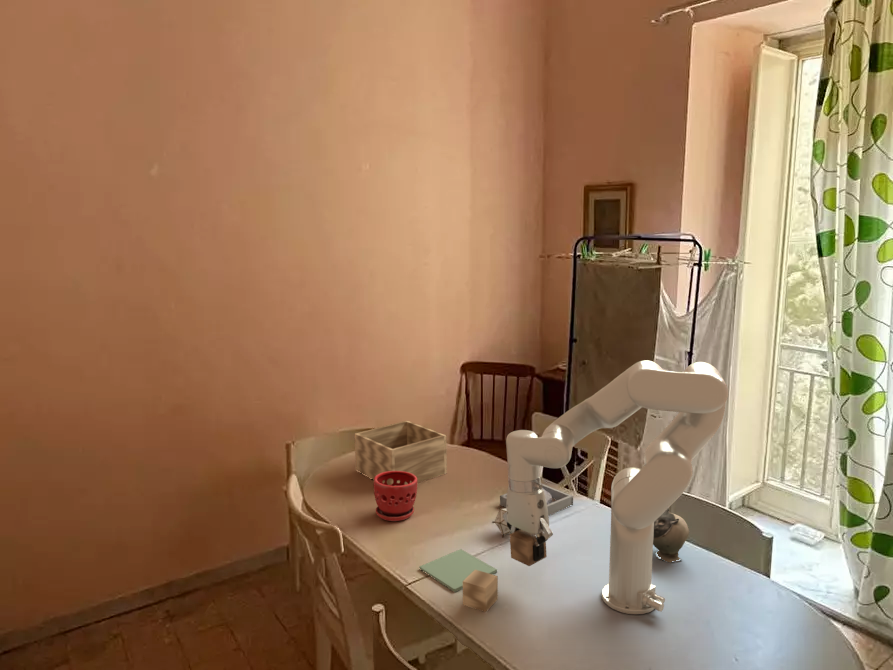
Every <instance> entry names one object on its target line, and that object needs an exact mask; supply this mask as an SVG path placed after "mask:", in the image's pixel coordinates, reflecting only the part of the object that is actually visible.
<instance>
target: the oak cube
mask: <svg viewBox="0 0 893 670" xmlns="http://www.w3.org/2000/svg"><path fill="white" fill-rule="evenodd" d="M498 579H499V577H498V575H495V574H489V573H485V572H482V571H478V570H474V571H473V572H472V573H471V574H470V575H469V576H468V577H467V578H466V579H465V580H464V581H463V589H462V606H465V605H466V606H465V607H468V608H471V609H475V610H477V611H481V612H484V613H487V612H488V610H490V609H491V607H492V606H493V605H494V604H495V603H496V602H497V601H498V598H499V597H498V596H499V595H498V593H499V590H498V589H499V588H498V584H499V583H498V582H499V581H498Z"/></svg>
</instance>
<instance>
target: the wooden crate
mask: <svg viewBox="0 0 893 670" xmlns="http://www.w3.org/2000/svg"><path fill="white" fill-rule="evenodd" d="M354 453H355V456H354V457H355V460H354V461H355V471H356V470H358V471H360V472H361V473H363V474H365V475H367V476H368V477H370V478H372V479H373V480H374V478H375V476H376V475H378V474H380V473H383V472H387V471H404V472H409V473H412V474H413V475H415V476H416V477H417V484H418V483H422V482H425V481H429V480H431V479H435V478H437V477H440V475H441V476H443V474H444V475H447V474H448V471H447V469H448V468H447V465H448V462H447V459H448V458H447V455H448V454H447V435H446V434H443V433H441V432H438V431H436V430H433V429H430V428H428V427H425V426H423V425H420V424H417V423H415V422H412V421H409V420H404V421H399V422H396V423H393V424H388V425H383V426H380V427H376V428H372V429H366V430H364V431H359V432H355V433H354ZM446 473H447V474H446ZM373 480H372V481H373ZM384 482H385V481H383V483H384ZM410 482H411V481H410ZM397 483H400V481H399V480H398V481H397ZM411 483H412V482H411ZM387 484H388V485H391V484H393V479H388V480H387ZM407 484H408V483H407V482H405V485H407Z"/></svg>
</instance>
